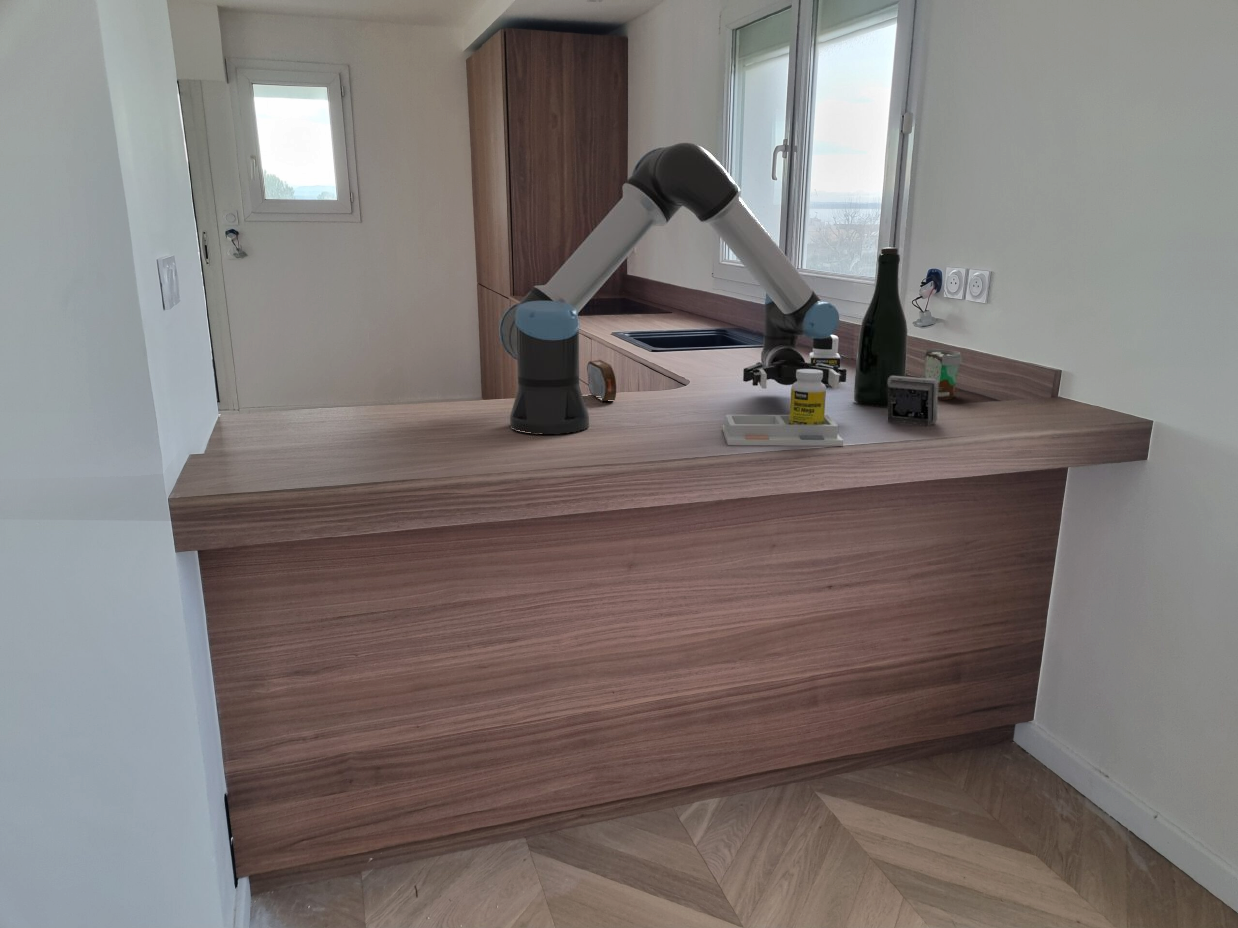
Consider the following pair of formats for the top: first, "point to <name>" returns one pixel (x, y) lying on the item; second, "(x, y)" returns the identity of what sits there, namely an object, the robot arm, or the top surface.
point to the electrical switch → (912, 400)
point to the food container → (942, 370)
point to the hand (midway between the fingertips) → (800, 381)
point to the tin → (601, 380)
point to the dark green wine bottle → (881, 336)
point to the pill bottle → (807, 398)
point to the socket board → (779, 431)
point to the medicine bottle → (825, 353)
